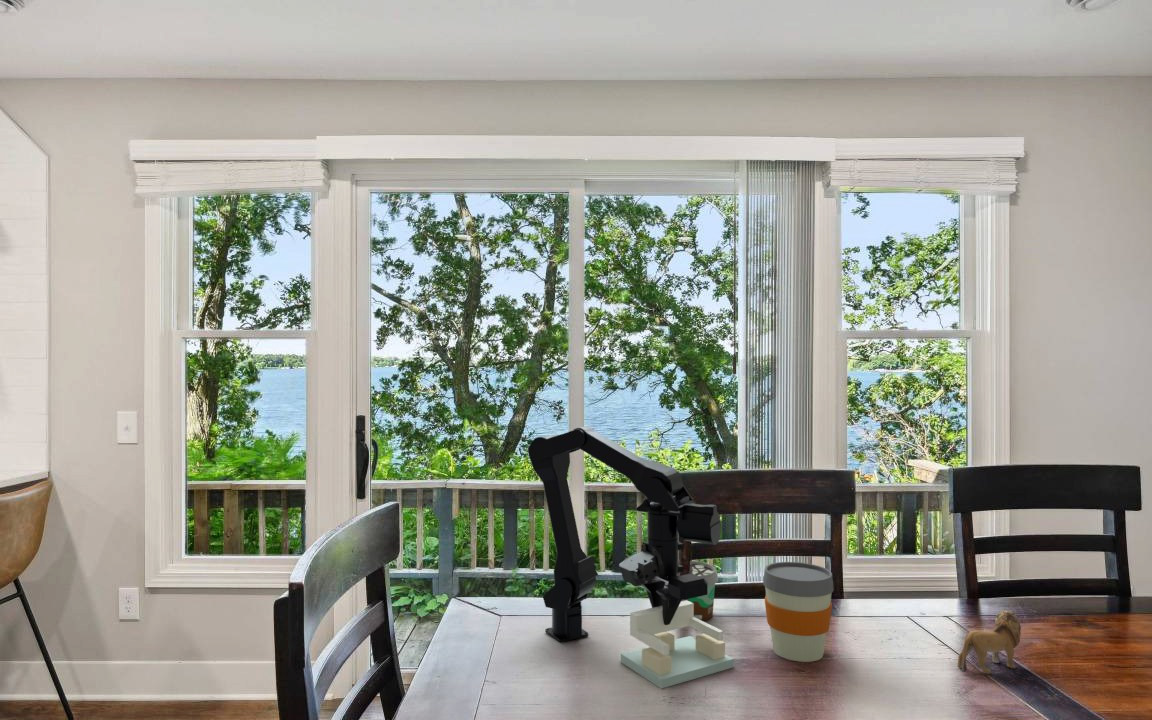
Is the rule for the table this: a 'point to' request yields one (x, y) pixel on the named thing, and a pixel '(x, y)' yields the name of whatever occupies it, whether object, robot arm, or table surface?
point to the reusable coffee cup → (798, 609)
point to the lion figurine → (993, 641)
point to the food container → (706, 602)
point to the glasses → (652, 623)
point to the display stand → (679, 659)
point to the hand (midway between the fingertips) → (662, 622)
